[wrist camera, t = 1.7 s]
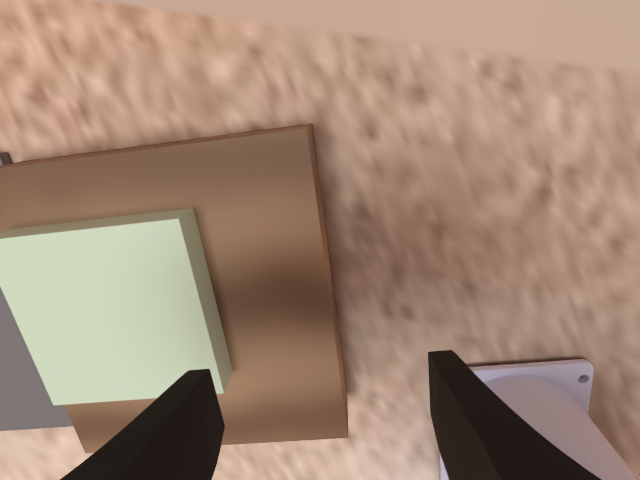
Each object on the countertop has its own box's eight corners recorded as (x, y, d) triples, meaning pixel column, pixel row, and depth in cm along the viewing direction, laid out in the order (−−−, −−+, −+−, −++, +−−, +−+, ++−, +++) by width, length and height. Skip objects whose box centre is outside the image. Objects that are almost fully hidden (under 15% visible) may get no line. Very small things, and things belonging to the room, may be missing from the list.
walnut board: (347, 394, 22) (348, 437, 19) (116, 410, 23) (85, 453, 21) (312, 123, 17) (306, 128, 14) (21, 161, 18) (-36, 172, 16)
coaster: (232, 370, 18) (223, 393, 17) (74, 382, 19) (53, 405, 18) (193, 208, 16) (178, 218, 14) (10, 228, 16) (-21, 241, 15)
